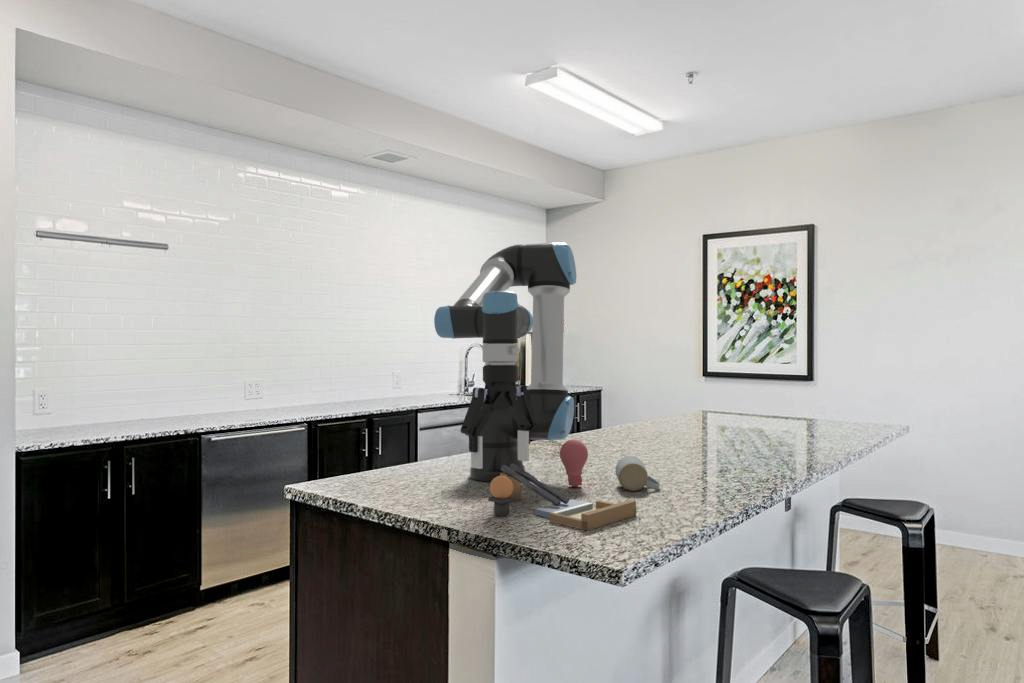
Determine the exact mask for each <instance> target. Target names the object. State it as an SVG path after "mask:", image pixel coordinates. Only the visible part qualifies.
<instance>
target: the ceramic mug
mask: <svg viewBox="0 0 1024 683" xmlns="http://www.w3.org/2000/svg"><path fill="white" fill-rule="evenodd" d="M646 468H647V467H646V465H645V464H644V462H643V461H642V460H641V459H640V458H639V457H637V456H636V455H635V456H634V455H627V456H624V457H622V458H620V459H619V460H618V462H617V463H616V465H615V476H616V478H617V480H618V482H619V484H620V486H621V487H622V488H623V489H624V490H627V491H629V492H638V491H640V490H641V489H643V488H644V487H647V488H649V489H652V490H655V491H658V490H659V488H660V486H661V483H660V482H659V481H657V480H656V479H655V478H653V477H651V476H649V475H648V471H647V469H646Z"/></svg>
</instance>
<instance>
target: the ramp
mask: <svg viewBox="0 0 1024 683" xmlns="http://www.w3.org/2000/svg"><path fill="white" fill-rule="evenodd" d="M501 470H502V471H503V472H504V473H500V476H506V477H508V478H509V479H510V480H511V481H512V483H513V492H512V494H511V495H510V496H513V497H515V501H519V500H522V485H523V486H525V487H526V488H528V489H530V490H531V491H533V492H534V493H535V494H537V495H538V496H540V497H542V498H544V499H545V500H547V501H548V502H550V503H551V504H554V505H556V506H559V505H560V503H561V502H563V503H565V504H567V503H568V502H569V500H570V498H569V497H567V496H565V495H564V494H563V493H560V492H559V491H558V490H556V489H554V488H553V487H552V486H550V485H548V484H546V482H544V481H541V479H538V478H537V477H536V476H534V475H533V474H530V472H528V471H526V470H525V471H524V470H523V469H521V468H519V467H518V466H516V465H515V464H513V463H512V464H511V465H510V466H509V468H508V467H507V466H505V465H502V467H501ZM515 501H514V502H515Z"/></svg>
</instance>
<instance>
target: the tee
mask: <svg viewBox="0 0 1024 683" xmlns="http://www.w3.org/2000/svg"><path fill="white" fill-rule="evenodd" d="M487 498H488V499H487V500H488V502H491V503H494V504H493V507H494V508H493V510H494V511H493V516H495V515H496V516H495V517H497V516H506V517H508V516H507V515H509V516H510V502H511V503H512V502H515V497H513V496H509V497H508V498H505V499H498V498H495V497H494V496H493V495H491V496H489V497H487Z"/></svg>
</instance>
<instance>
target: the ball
mask: <svg viewBox="0 0 1024 683" xmlns="http://www.w3.org/2000/svg"><path fill="white" fill-rule="evenodd" d="M489 491H490V494H491V496H494V497H495V498H498V499H505V498H508V497H509V496H510V495H511V494H512V492H513V483H512V481H511V480H510V479H509V478H508V477H506V476H497V477H495V478H494V479H493V480H492V481H491V482H490V484H489Z"/></svg>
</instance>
